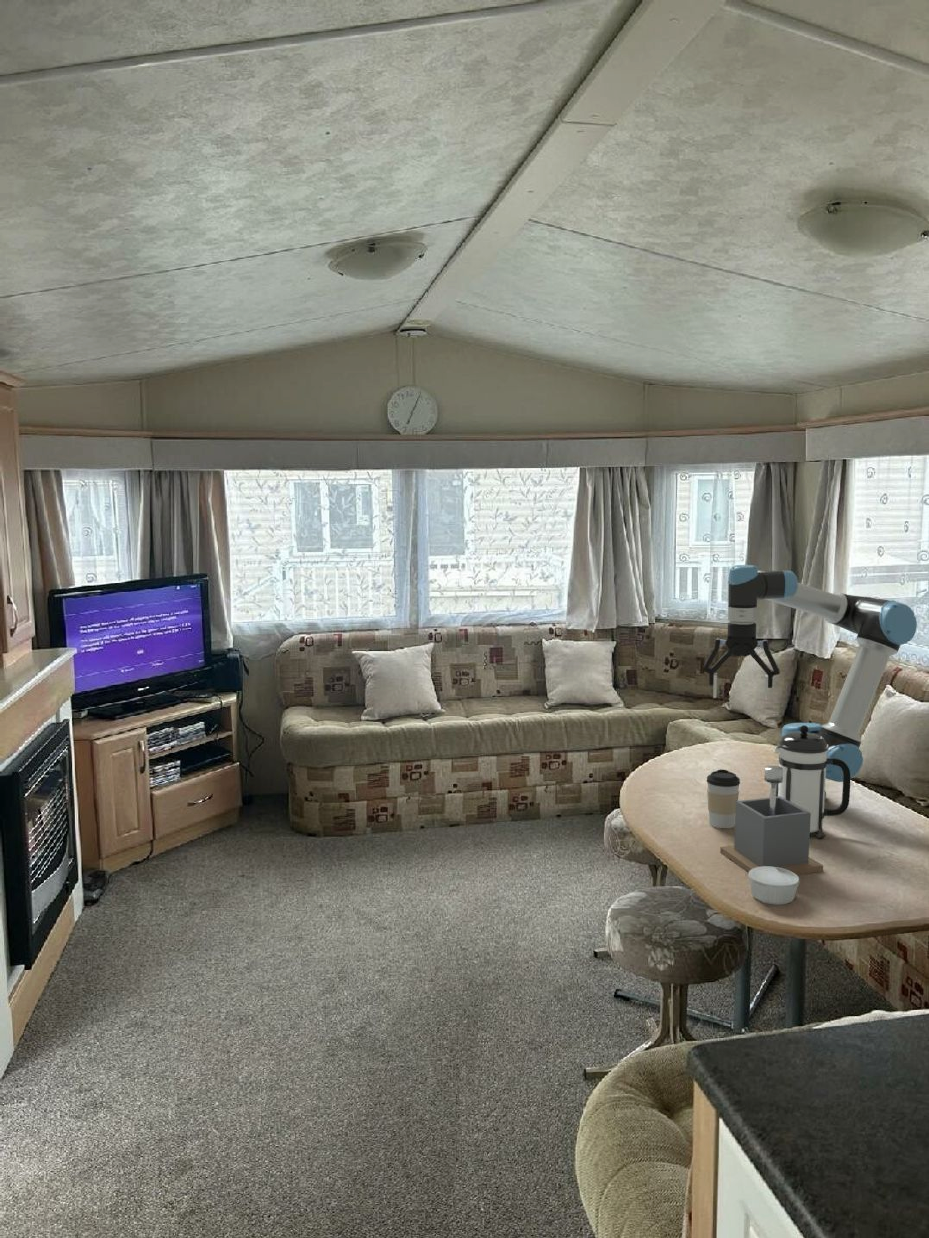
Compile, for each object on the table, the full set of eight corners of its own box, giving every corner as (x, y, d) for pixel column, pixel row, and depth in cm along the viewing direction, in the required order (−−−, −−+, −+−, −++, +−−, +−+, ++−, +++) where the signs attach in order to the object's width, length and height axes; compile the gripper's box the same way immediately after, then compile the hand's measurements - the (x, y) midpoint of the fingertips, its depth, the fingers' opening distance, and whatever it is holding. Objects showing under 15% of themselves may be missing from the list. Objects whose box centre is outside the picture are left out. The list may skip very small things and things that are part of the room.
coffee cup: (739, 831, 266) (741, 778, 263) (706, 829, 267) (707, 777, 265) (737, 819, 274) (739, 768, 272) (704, 817, 276) (706, 767, 274)
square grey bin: (780, 844, 255) (782, 792, 253) (822, 871, 238) (825, 815, 236) (720, 852, 251) (722, 798, 249) (758, 879, 234) (761, 822, 231)
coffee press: (807, 846, 254) (812, 736, 250) (759, 828, 267) (763, 723, 263) (849, 833, 263) (854, 726, 259) (801, 816, 277) (805, 714, 272)
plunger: (776, 841, 250) (779, 761, 247) (798, 854, 241) (802, 772, 238) (743, 845, 247) (746, 764, 244) (764, 859, 238) (768, 775, 235)
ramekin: (808, 899, 223) (809, 877, 222) (778, 911, 217) (778, 889, 216) (768, 882, 232) (768, 862, 231) (737, 894, 226) (738, 873, 225)
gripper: (694, 623, 262) (692, 698, 266) (790, 625, 255) (788, 703, 258) (696, 618, 269) (694, 692, 273) (789, 621, 262) (787, 697, 265)
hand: (740, 698), depth 265 cm, fingers open, 13 cm apart
